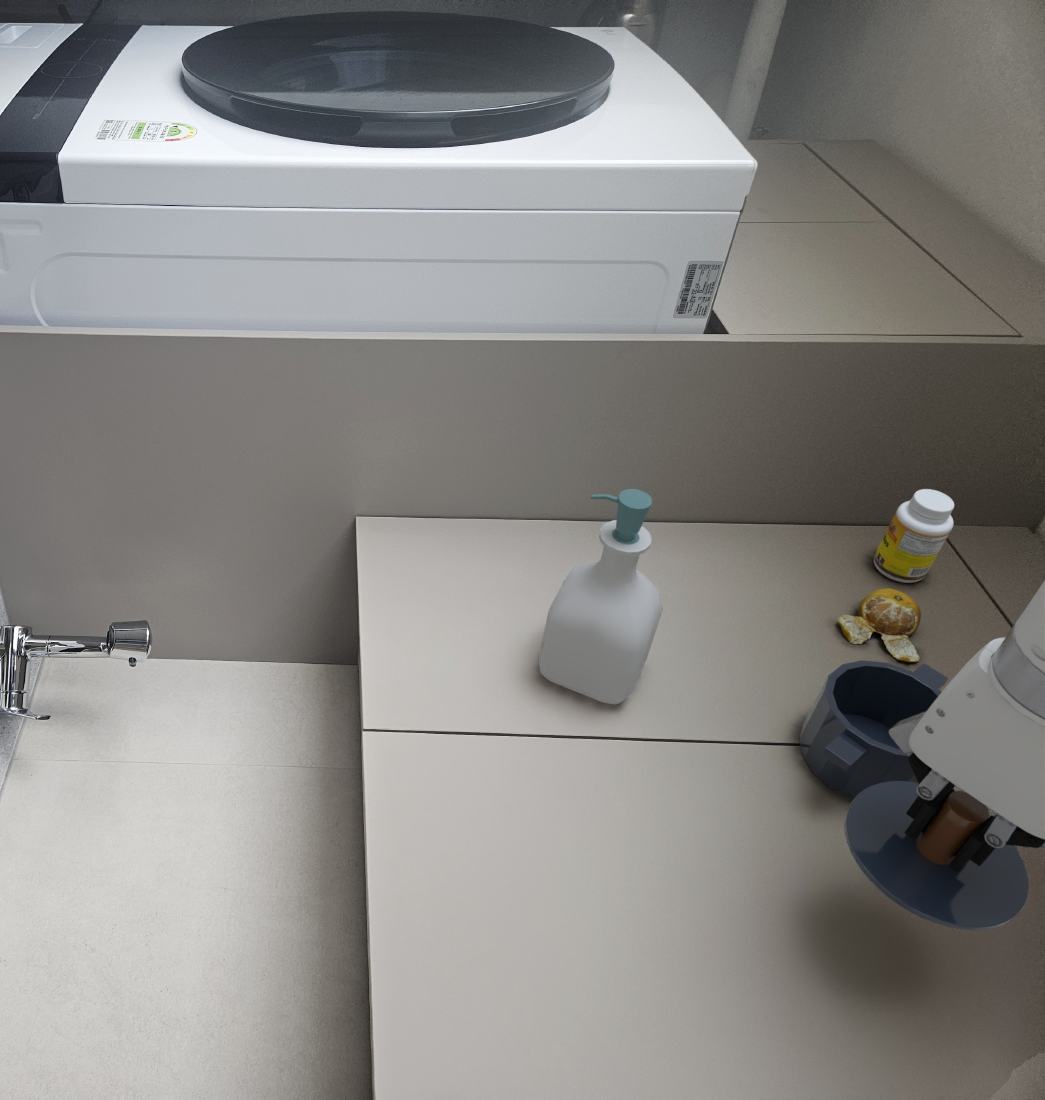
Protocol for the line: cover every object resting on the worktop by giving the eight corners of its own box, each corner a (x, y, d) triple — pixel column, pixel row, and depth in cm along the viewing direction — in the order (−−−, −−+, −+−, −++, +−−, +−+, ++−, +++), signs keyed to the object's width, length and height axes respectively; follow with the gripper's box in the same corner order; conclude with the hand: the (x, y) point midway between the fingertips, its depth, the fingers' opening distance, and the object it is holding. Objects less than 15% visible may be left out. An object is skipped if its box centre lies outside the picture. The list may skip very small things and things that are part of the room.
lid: (1052, 872, 70) (1100, 821, 65) (970, 969, 64) (1016, 920, 60) (894, 763, 77) (928, 711, 73) (808, 842, 72) (839, 791, 67)
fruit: (831, 634, 103) (843, 610, 100) (851, 591, 108) (863, 567, 105) (915, 668, 99) (930, 644, 96) (932, 622, 104) (946, 597, 101)
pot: (963, 752, 91) (999, 701, 86) (868, 844, 84) (902, 794, 79) (855, 681, 98) (883, 631, 93) (759, 761, 90) (783, 711, 85)
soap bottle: (561, 623, 104) (600, 453, 89) (649, 656, 101) (704, 485, 86) (529, 681, 98) (565, 509, 83) (621, 718, 94) (675, 545, 79)
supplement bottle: (879, 546, 113) (913, 477, 106) (930, 566, 110) (969, 496, 104) (865, 571, 110) (900, 502, 103) (917, 592, 107) (956, 522, 100)
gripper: (1254, 731, 54) (1084, 896, 66) (965, 576, 64) (863, 744, 76) (1201, 798, 51) (1033, 960, 63) (906, 624, 61) (809, 792, 73)
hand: (941, 840), depth 69 cm, fingers closed on lid, 2 cm apart
